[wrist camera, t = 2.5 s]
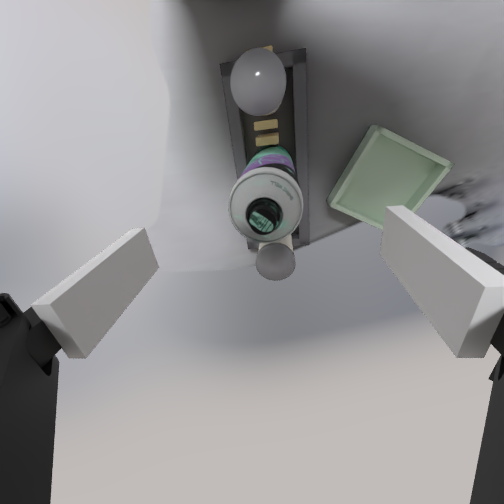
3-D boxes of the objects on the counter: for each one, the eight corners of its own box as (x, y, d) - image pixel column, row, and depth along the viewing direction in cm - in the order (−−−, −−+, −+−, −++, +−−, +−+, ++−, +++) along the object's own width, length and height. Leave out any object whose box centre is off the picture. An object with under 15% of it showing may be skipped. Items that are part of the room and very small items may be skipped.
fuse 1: (256, 67, 27) (242, 36, 17) (289, 84, 28) (296, 64, 17) (242, 107, 29) (222, 101, 19) (274, 122, 30) (271, 125, 19)
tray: (371, 124, 29) (378, 125, 27) (442, 160, 30) (454, 163, 28) (326, 200, 34) (329, 206, 32) (388, 228, 35) (395, 236, 33)
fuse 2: (269, 203, 35) (265, 240, 24) (295, 215, 35) (302, 256, 25) (258, 228, 37) (249, 271, 26) (282, 238, 37) (284, 285, 27)
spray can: (291, 187, 33) (304, 262, 16) (251, 186, 34) (222, 259, 16) (293, 143, 31) (312, 178, 13) (251, 144, 31) (215, 177, 14)
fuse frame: (222, 66, 28) (209, 54, 22) (304, 51, 26) (310, 34, 21) (249, 244, 38) (244, 264, 33) (308, 240, 37) (312, 260, 32)
